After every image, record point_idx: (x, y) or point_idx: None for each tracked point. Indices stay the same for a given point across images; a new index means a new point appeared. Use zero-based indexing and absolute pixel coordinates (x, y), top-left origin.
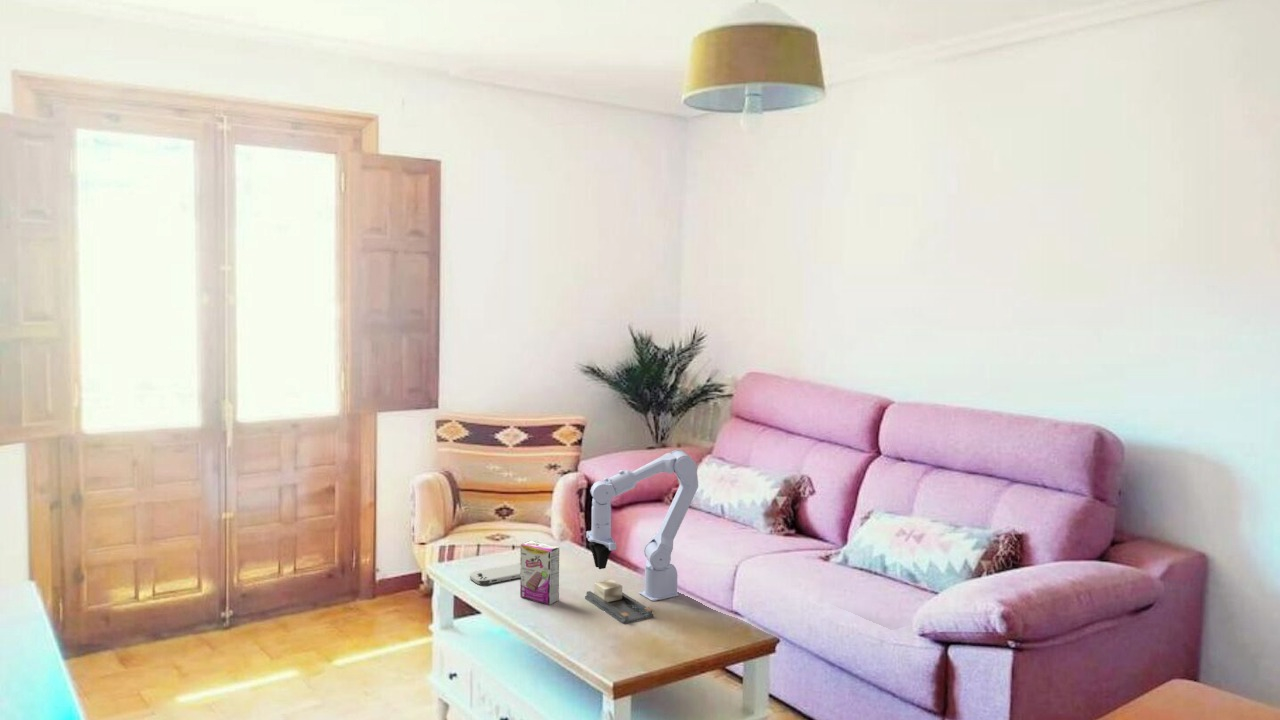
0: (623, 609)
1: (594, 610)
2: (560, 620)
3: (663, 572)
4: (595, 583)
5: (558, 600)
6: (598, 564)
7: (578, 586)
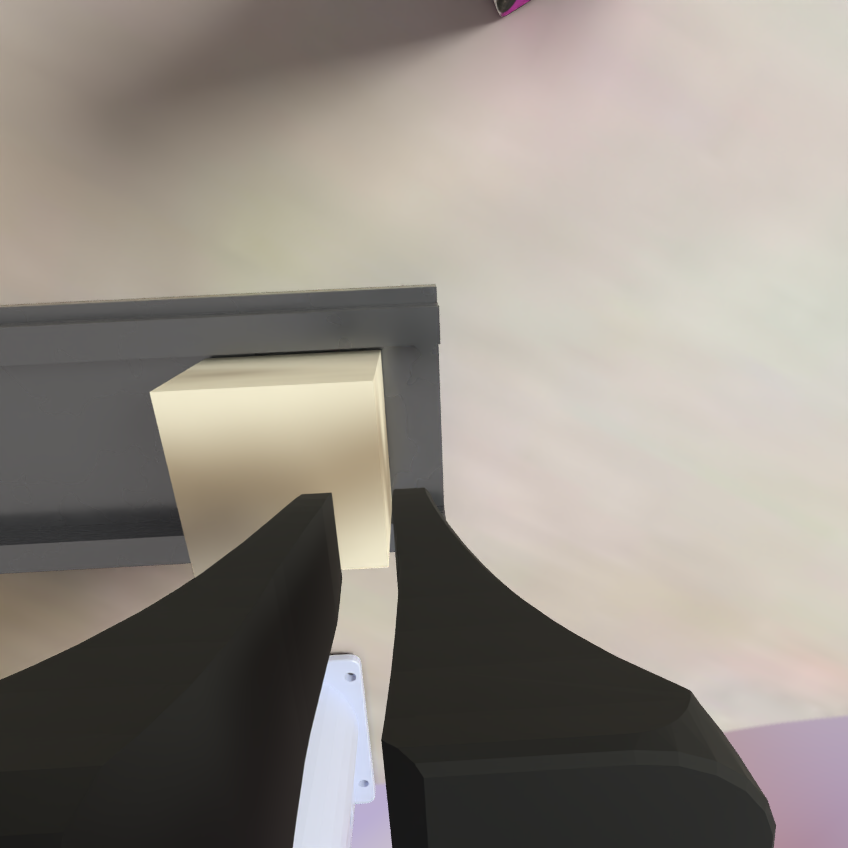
0: (33, 433)
1: (150, 234)
2: None
3: None
4: (356, 385)
5: (498, 11)
6: (289, 516)
7: (707, 359)
